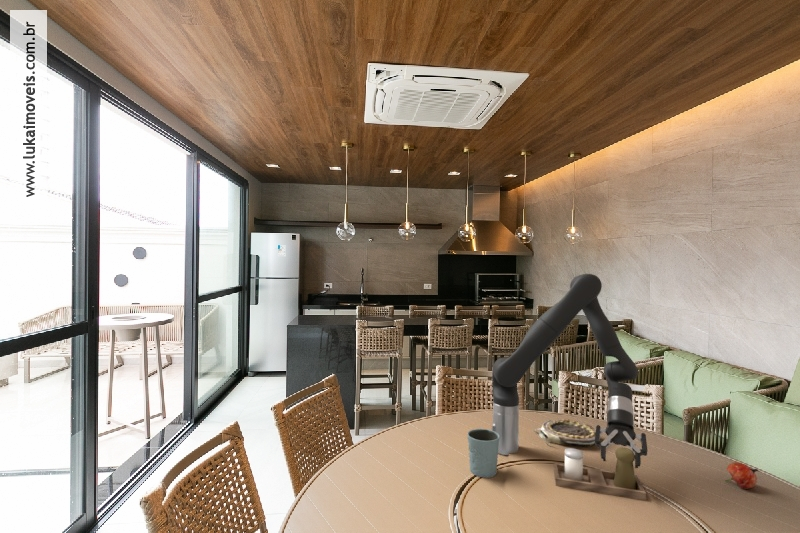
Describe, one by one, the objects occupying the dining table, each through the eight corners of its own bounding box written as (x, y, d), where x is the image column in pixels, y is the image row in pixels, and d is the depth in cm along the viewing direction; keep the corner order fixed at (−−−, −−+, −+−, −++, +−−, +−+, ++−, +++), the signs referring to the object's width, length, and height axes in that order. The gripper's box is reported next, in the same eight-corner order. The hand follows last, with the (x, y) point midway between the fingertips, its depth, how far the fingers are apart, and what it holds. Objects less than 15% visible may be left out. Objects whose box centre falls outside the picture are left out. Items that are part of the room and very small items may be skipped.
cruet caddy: (555, 488, 122) (555, 478, 122) (553, 472, 133) (553, 462, 133) (646, 503, 115) (646, 493, 115) (636, 484, 125) (636, 475, 125)
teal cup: (501, 468, 135) (502, 431, 135) (495, 482, 126) (495, 443, 126) (471, 461, 139) (472, 426, 139) (463, 474, 130) (464, 437, 130)
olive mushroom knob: (639, 492, 119) (640, 454, 120) (617, 489, 120) (618, 452, 121) (631, 481, 125) (631, 445, 125) (610, 479, 126) (610, 444, 126)
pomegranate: (729, 495, 125) (763, 485, 119) (712, 469, 129) (744, 459, 123) (736, 490, 129) (770, 481, 123) (720, 466, 133) (752, 456, 127)
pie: (563, 422, 180) (563, 410, 180) (625, 445, 157) (625, 432, 157) (520, 434, 165) (520, 422, 165) (581, 462, 142) (581, 448, 142)
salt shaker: (565, 482, 124) (565, 454, 124) (563, 474, 129) (564, 447, 129) (583, 485, 123) (584, 456, 123) (581, 477, 128) (581, 449, 128)
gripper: (595, 404, 133) (593, 452, 123) (646, 412, 127) (648, 463, 116) (596, 415, 138) (594, 463, 127) (645, 423, 131) (647, 474, 121)
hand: (620, 463), depth 122 cm, fingers open, 8 cm apart
